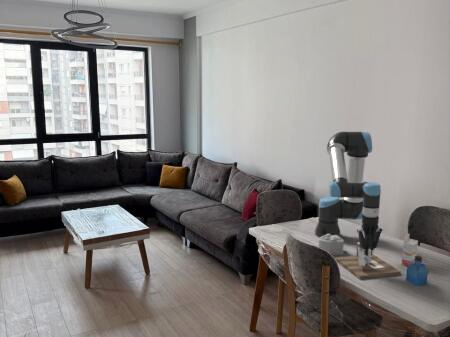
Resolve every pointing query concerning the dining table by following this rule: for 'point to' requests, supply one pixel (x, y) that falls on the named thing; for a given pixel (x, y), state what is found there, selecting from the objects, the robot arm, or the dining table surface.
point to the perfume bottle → (417, 272)
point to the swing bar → (360, 255)
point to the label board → (367, 267)
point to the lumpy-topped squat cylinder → (331, 244)
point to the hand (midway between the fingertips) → (367, 261)
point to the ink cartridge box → (409, 250)
